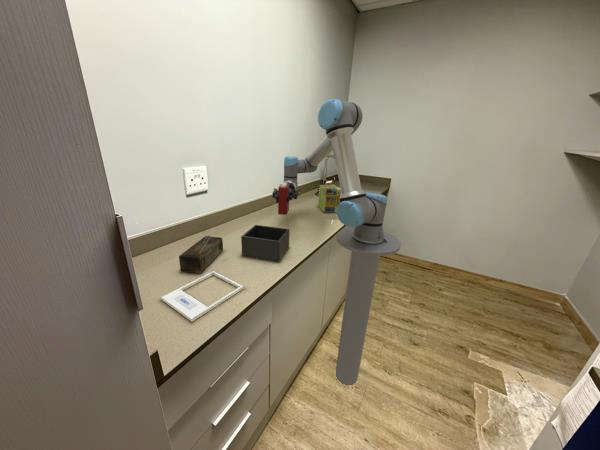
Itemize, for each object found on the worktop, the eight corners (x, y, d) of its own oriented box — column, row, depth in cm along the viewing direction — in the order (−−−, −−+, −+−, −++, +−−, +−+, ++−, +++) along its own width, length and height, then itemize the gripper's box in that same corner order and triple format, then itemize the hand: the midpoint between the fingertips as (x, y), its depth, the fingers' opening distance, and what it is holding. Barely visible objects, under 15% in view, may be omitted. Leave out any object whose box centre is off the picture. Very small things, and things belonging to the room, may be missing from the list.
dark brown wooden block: (224, 250, 101) (223, 235, 98) (201, 275, 83) (199, 258, 81) (206, 248, 102) (204, 233, 99) (179, 272, 84) (176, 255, 81)
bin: (288, 247, 106) (289, 229, 103) (279, 262, 93) (279, 241, 90) (255, 242, 109) (255, 224, 106) (242, 256, 96) (241, 236, 93)
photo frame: (161, 296, 70) (213, 270, 84) (161, 299, 70) (213, 273, 84) (191, 318, 62) (243, 285, 76) (191, 321, 62) (243, 288, 77)
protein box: (324, 213, 154) (326, 189, 149) (317, 206, 168) (319, 184, 163) (339, 212, 156) (342, 189, 151) (332, 206, 171) (334, 184, 165)
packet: (288, 209, 117) (289, 182, 112) (286, 215, 109) (287, 186, 104) (280, 209, 117) (281, 182, 112) (278, 214, 109) (278, 186, 105)
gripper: (304, 196, 128) (301, 209, 106) (272, 194, 129) (263, 207, 107) (304, 182, 126) (302, 192, 104) (272, 180, 126) (262, 190, 105)
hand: (282, 199), depth 105 cm, fingers closed on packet, 4 cm apart
